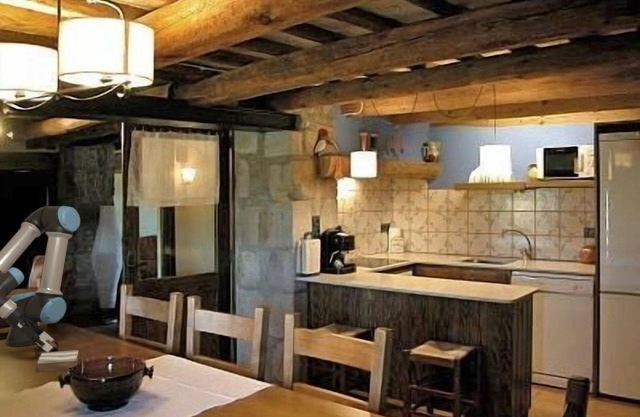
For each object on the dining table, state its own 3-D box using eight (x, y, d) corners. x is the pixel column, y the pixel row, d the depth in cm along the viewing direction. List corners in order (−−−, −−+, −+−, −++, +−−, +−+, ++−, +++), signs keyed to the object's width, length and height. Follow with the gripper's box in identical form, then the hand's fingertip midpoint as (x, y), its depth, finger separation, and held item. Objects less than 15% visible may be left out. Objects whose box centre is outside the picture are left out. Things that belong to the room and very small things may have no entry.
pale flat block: (42, 362, 251) (42, 352, 251) (78, 359, 255) (78, 350, 255) (37, 372, 237) (37, 361, 237) (76, 368, 242) (76, 358, 242)
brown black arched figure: (56, 361, 254) (45, 345, 252) (38, 370, 256) (26, 354, 254) (69, 347, 266) (58, 331, 264) (51, 355, 267) (40, 340, 265)
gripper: (8, 314, 265) (48, 346, 270) (-2, 325, 243) (41, 360, 248) (22, 301, 266) (61, 334, 272) (12, 310, 244) (55, 346, 250)
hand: (51, 346), depth 260 cm, fingers closed on brown black arched figure, 11 cm apart
